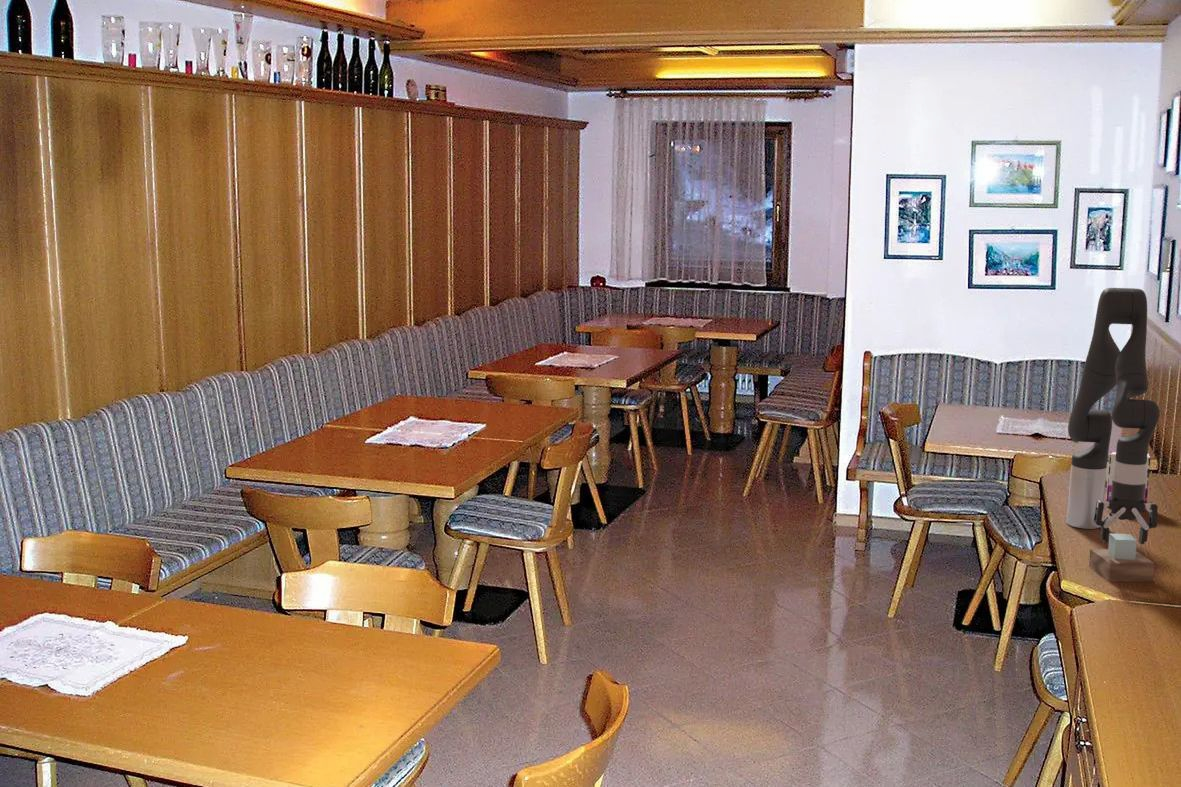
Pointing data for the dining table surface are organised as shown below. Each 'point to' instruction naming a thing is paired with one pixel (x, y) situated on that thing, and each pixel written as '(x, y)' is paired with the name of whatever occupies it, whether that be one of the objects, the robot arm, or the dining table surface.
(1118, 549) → the teal cube
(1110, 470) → the candy bar box
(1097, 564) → the walnut block
